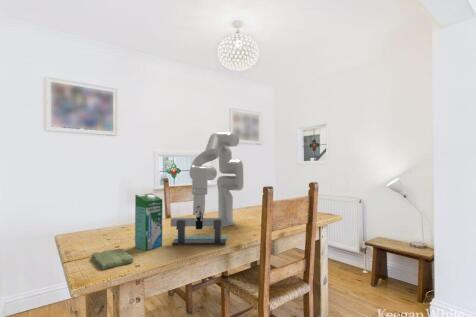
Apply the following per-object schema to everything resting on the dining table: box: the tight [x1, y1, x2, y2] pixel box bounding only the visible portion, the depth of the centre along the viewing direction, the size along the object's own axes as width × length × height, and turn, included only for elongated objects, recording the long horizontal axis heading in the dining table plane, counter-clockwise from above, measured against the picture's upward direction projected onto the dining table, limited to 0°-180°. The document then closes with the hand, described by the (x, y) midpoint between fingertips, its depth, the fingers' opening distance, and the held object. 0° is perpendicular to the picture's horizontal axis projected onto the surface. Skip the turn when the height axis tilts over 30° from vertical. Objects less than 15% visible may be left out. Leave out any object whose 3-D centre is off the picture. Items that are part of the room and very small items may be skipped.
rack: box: [171, 221, 227, 246], centre depth 132 cm, size 7×26×12 cm, turn 91°
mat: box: [173, 235, 228, 241], centre depth 139 cm, size 6×27×1 cm, turn 91°
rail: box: [170, 217, 228, 228], centre depth 132 cm, size 4×28×4 cm, turn 91°
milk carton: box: [134, 193, 163, 252], centre depth 127 cm, size 9×9×25 cm
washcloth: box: [90, 248, 134, 271], centre depth 109 cm, size 13×18×3 cm
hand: (199, 227), depth 132 cm, fingers closed on rail, 3 cm apart
